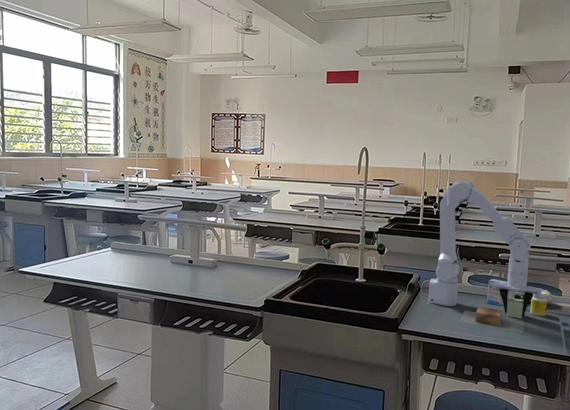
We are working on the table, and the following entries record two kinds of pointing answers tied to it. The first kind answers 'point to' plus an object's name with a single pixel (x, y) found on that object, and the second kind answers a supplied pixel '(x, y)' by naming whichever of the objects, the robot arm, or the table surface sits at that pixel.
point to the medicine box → (497, 294)
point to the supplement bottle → (539, 305)
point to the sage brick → (514, 307)
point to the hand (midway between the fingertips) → (514, 313)
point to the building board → (505, 324)
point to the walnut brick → (488, 316)
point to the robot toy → (521, 296)
